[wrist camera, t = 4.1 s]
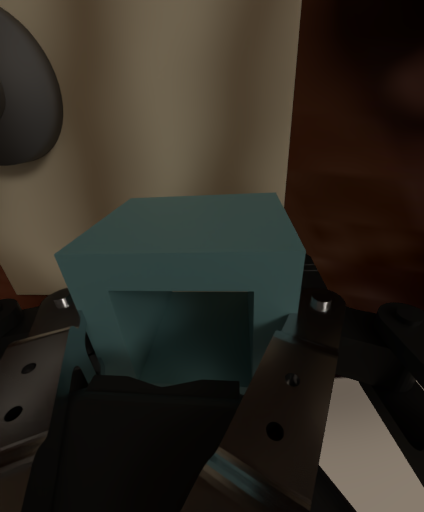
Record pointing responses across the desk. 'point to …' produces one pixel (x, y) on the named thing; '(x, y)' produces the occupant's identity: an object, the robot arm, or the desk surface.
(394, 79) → the desk surface
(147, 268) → the teal square frame
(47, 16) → the post board
